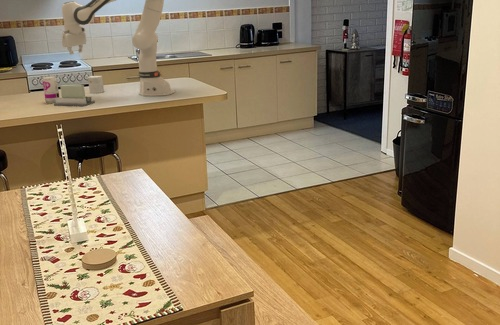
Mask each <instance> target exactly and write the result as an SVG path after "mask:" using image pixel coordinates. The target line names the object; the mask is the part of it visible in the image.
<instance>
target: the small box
mask: <svg viewBox="0 0 500 325" xmlns="http://www.w3.org/2000/svg"><path fill="white" fill-rule="evenodd" d="M103 80H104V78H103V76H102V75H91V76H88V77H87V83H88V88H89V94H102V93H104V92H105V88H104V81H103Z"/></svg>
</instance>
